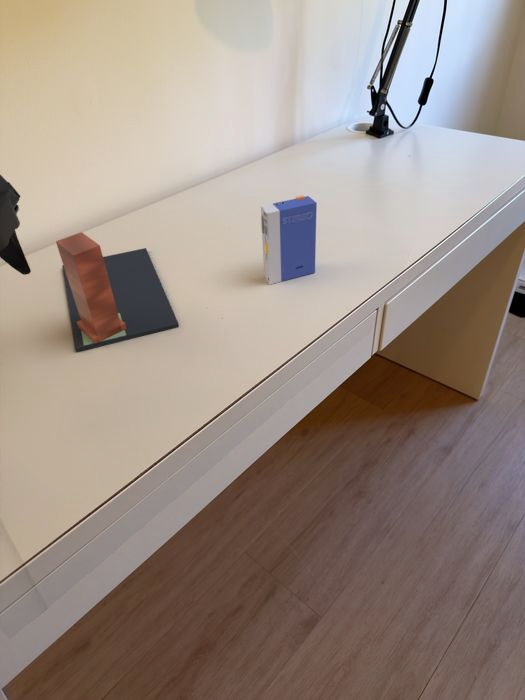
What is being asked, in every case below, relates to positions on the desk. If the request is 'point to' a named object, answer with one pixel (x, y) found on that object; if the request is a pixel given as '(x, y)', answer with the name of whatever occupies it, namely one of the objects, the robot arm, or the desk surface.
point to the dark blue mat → (129, 299)
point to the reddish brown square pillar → (90, 287)
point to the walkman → (289, 239)
